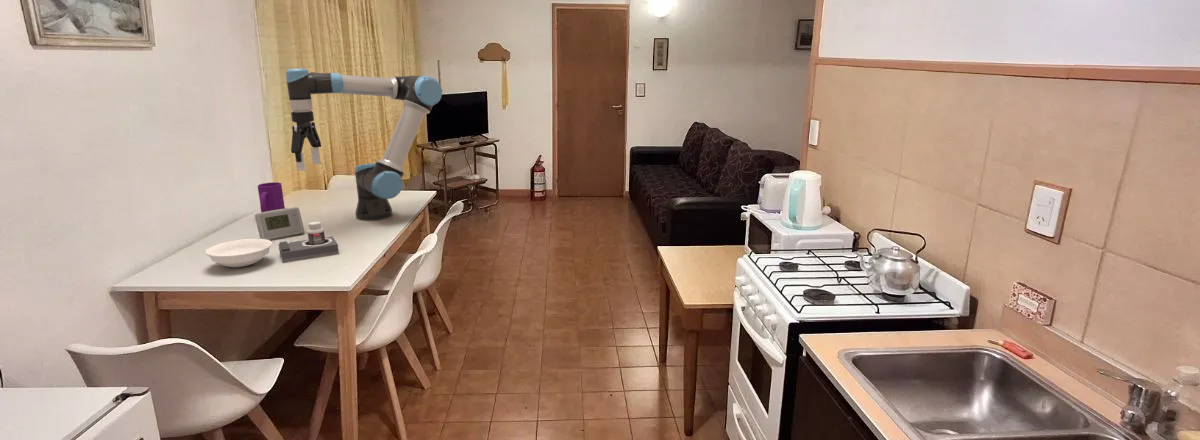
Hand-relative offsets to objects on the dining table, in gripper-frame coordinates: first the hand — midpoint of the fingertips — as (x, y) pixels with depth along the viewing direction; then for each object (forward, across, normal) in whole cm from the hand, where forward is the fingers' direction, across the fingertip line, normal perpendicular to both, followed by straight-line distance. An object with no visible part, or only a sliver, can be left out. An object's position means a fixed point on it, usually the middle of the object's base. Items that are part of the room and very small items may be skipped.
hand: (309, 167), depth 243 cm
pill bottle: (+26, +23, +10) cm, 36 cm away
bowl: (+27, +36, -10) cm, 46 cm away
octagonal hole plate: (+27, +25, +7) cm, 37 cm away
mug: (+27, -23, -30) cm, 46 cm away
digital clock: (+27, +3, -13) cm, 30 cm away
